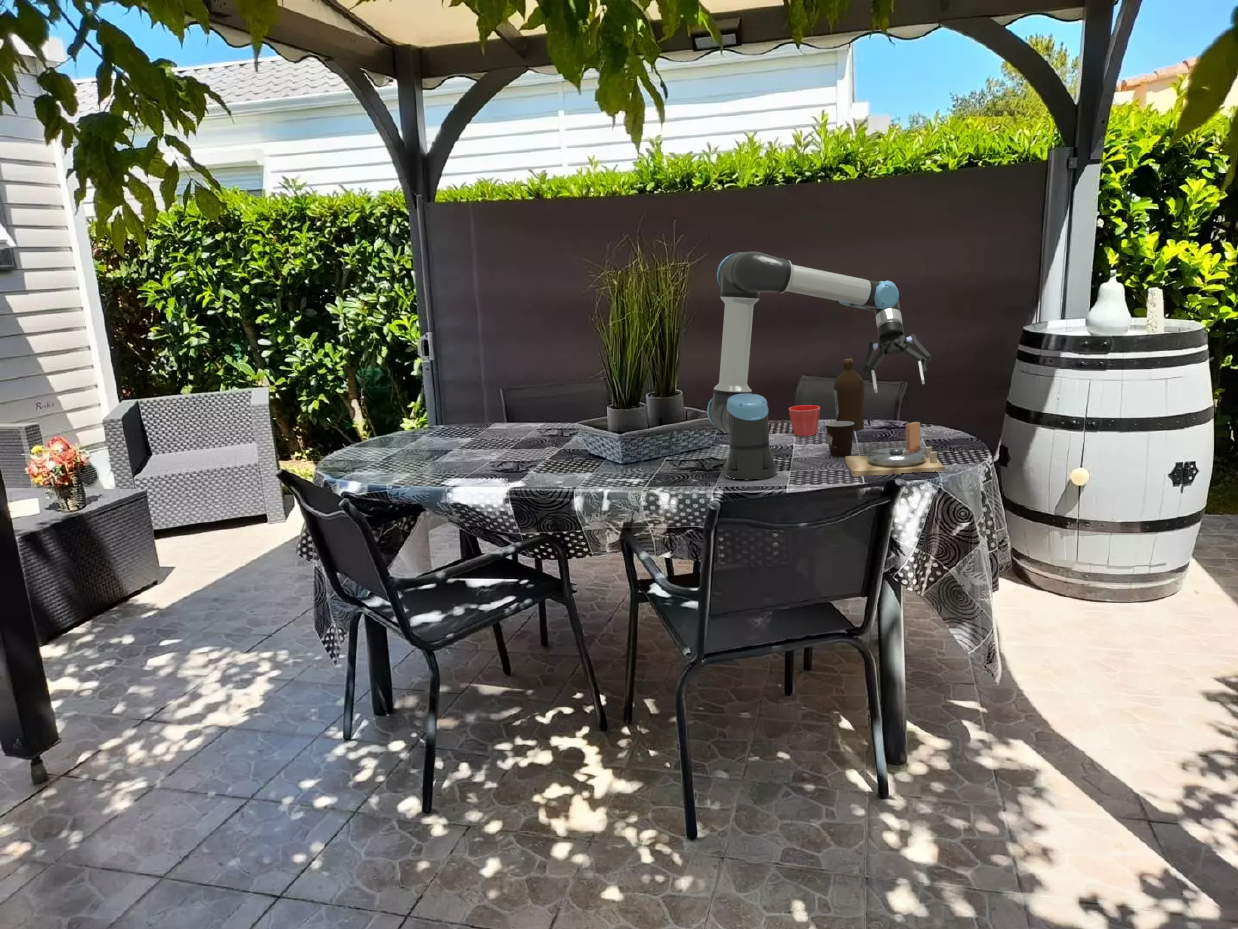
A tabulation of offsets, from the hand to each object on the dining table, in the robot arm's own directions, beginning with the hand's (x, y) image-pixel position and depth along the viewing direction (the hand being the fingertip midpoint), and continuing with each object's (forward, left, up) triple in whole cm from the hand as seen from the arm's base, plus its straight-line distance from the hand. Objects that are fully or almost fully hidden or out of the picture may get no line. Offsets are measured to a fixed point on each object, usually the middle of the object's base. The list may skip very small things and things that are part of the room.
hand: (899, 386), depth 260 cm
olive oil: (-10, +48, -22) cm, 54 cm away
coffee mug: (-17, +8, -22) cm, 29 cm away
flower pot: (-26, +42, -22) cm, 54 cm away
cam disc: (-3, -12, -20) cm, 23 cm away
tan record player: (-4, -12, -22) cm, 25 cm away
